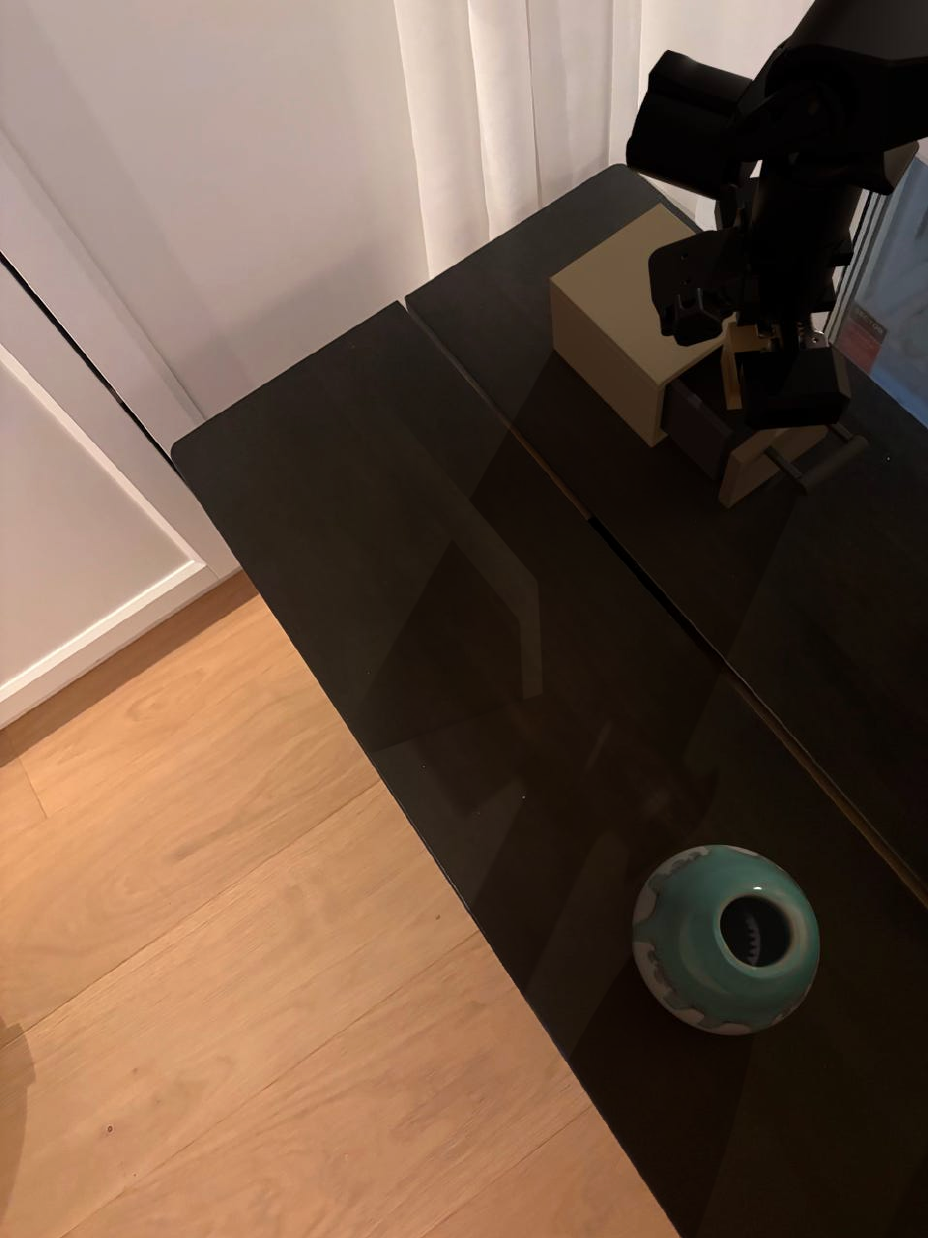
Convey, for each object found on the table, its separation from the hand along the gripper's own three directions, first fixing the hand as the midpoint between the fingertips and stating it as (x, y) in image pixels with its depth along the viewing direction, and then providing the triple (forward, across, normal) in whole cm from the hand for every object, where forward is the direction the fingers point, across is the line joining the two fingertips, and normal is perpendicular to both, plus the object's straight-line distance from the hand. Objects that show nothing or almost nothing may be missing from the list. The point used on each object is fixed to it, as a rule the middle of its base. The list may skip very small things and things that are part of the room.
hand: (757, 373), depth 68 cm
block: (+1, 0, 0) cm, 1 cm away
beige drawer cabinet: (+10, -9, -6) cm, 15 cm away
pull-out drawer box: (+9, 0, 0) cm, 9 cm away
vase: (+10, +39, -6) cm, 41 cm away
